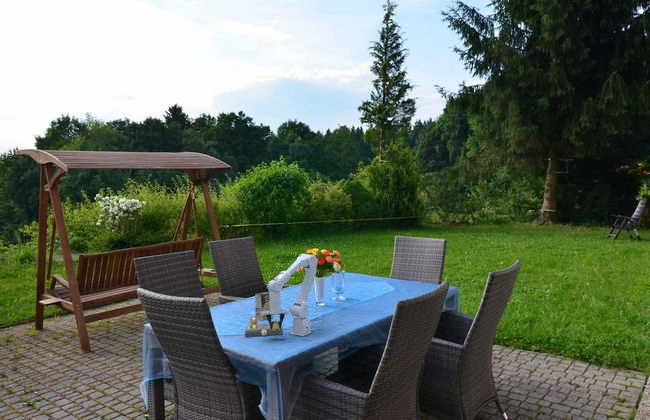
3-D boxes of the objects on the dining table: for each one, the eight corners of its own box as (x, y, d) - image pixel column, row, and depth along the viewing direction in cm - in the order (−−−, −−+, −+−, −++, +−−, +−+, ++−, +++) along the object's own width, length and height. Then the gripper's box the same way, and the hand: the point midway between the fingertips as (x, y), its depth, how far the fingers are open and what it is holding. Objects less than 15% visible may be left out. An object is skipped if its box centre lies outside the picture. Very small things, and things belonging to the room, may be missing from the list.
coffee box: (262, 321, 289) (261, 295, 289) (255, 319, 293) (254, 293, 293) (273, 317, 296) (272, 292, 296) (266, 316, 300) (265, 291, 300)
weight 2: (281, 330, 253) (281, 321, 253) (276, 332, 250) (275, 323, 249) (275, 329, 256) (275, 320, 256) (269, 331, 252) (269, 322, 252)
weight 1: (258, 327, 265) (258, 318, 265) (250, 328, 263) (250, 319, 263) (256, 325, 269) (256, 316, 269) (249, 326, 268) (248, 317, 267)
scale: (282, 335, 260) (282, 328, 260) (245, 337, 257) (245, 330, 257) (280, 327, 274) (280, 321, 274) (245, 329, 271) (245, 323, 271)
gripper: (288, 300, 257) (288, 325, 258) (261, 302, 255) (261, 327, 255) (289, 303, 250) (289, 328, 251) (261, 305, 248) (262, 330, 248)
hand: (275, 328), depth 253 cm, fingers closed on weight 2, 4 cm apart
